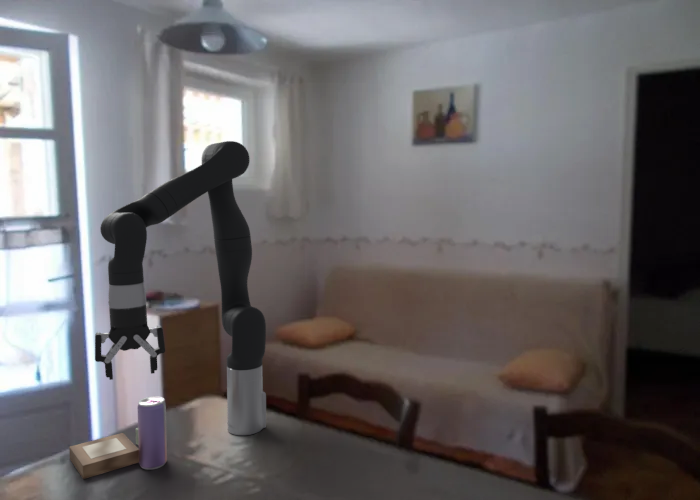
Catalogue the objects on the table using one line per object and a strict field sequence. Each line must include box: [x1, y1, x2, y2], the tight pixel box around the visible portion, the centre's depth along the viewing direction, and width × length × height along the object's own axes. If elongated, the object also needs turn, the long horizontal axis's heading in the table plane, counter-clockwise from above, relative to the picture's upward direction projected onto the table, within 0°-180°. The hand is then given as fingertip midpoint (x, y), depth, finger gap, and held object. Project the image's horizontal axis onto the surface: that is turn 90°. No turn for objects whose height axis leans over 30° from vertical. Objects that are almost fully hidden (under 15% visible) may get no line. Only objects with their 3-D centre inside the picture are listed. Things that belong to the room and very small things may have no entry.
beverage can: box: [137, 395, 168, 471], centre depth 121 cm, size 6×6×15 cm
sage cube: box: [134, 427, 139, 446], centre depth 132 cm, size 4×4×4 cm
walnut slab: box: [68, 432, 139, 480], centre depth 123 cm, size 12×12×3 cm
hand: (132, 375), depth 118 cm, fingers open, 8 cm apart
